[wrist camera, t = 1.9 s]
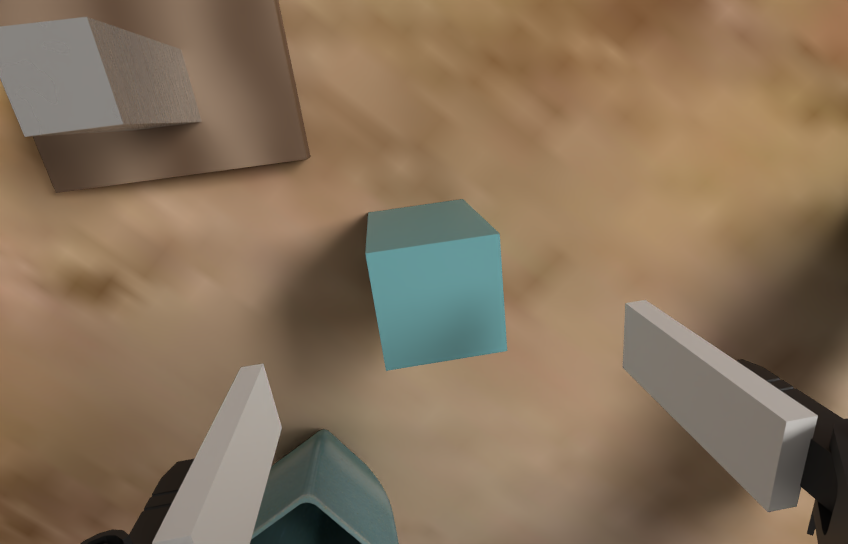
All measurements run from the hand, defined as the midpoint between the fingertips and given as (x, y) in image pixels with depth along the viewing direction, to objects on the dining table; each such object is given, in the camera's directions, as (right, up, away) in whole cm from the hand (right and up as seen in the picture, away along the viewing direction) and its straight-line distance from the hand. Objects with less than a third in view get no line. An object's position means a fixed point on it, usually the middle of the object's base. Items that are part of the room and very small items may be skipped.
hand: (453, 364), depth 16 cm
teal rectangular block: (-1, +5, +14) cm, 15 cm away
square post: (-15, +13, +9) cm, 22 cm away
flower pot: (-9, -12, +19) cm, 24 cm away
